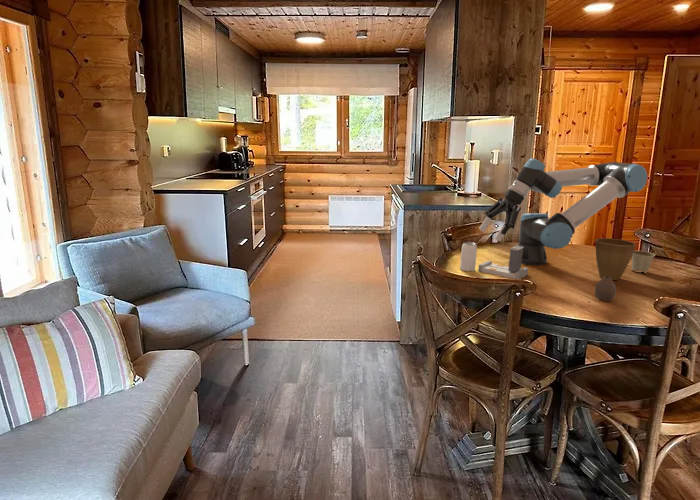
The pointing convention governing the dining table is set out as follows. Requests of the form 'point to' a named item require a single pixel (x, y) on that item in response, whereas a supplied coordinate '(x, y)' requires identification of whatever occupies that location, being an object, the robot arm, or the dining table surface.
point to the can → (468, 256)
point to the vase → (605, 289)
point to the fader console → (501, 270)
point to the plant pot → (613, 256)
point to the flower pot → (641, 260)
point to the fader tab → (515, 258)
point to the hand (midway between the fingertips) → (488, 235)
